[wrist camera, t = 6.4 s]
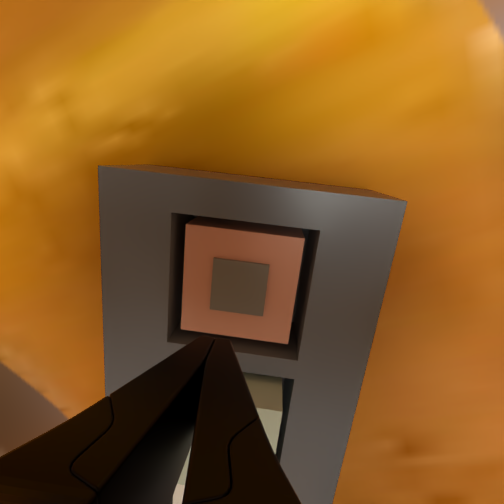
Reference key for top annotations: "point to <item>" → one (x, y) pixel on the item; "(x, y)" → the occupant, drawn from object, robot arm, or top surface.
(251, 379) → the sage key
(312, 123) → the top surface
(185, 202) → the gray keypad housing
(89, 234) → the top surface
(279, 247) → the terracotta key
